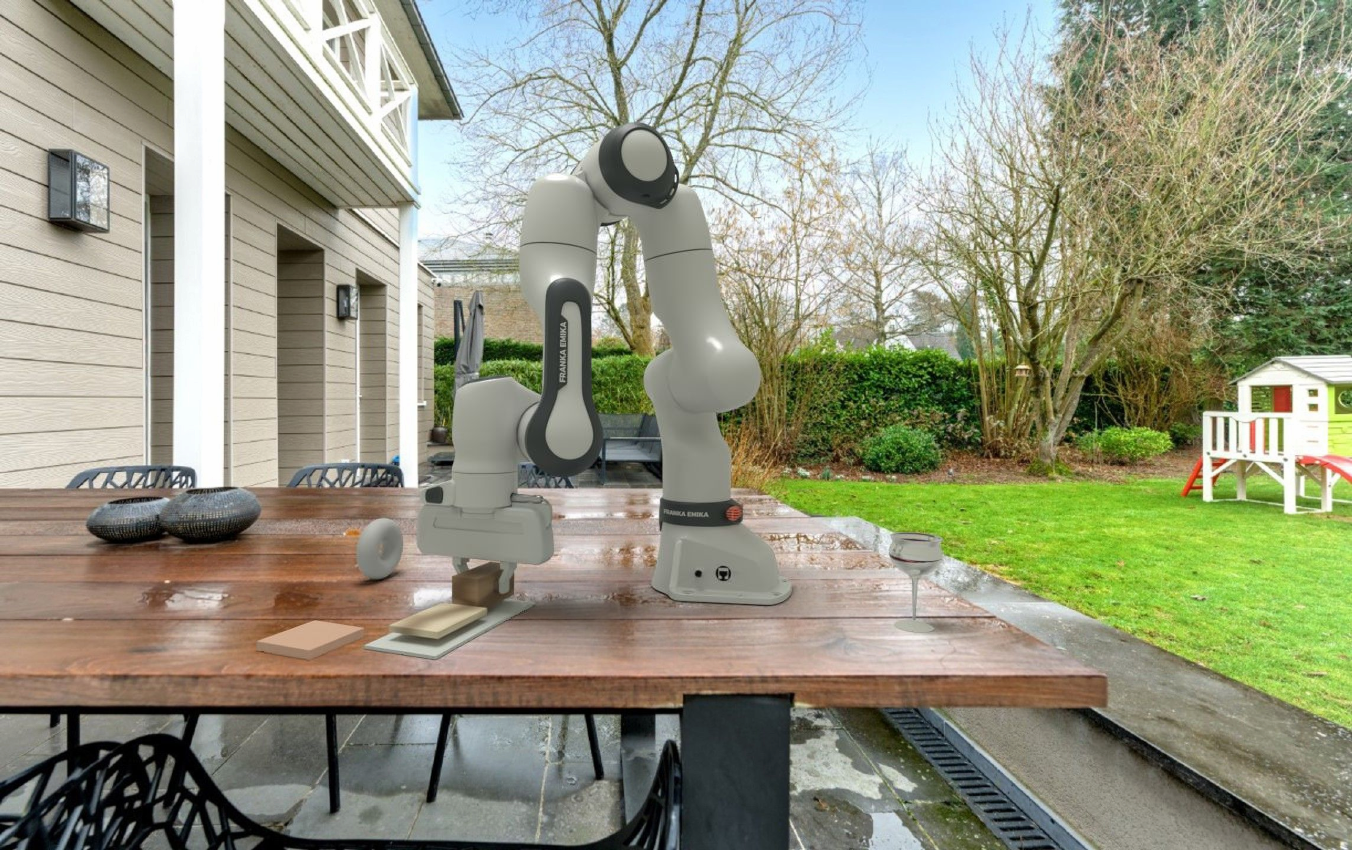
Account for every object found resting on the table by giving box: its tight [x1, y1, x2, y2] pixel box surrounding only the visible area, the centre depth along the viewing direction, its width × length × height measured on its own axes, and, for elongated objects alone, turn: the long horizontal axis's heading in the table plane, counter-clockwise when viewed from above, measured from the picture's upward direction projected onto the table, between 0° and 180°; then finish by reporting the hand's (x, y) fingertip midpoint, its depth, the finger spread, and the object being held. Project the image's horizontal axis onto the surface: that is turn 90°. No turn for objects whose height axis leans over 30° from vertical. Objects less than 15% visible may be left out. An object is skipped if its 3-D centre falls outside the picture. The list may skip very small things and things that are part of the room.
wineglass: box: [888, 531, 944, 633], centre depth 88 cm, size 7×7×12 cm
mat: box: [363, 598, 536, 661], centre depth 86 cm, size 10×22×1 cm, turn 162°
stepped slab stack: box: [388, 561, 515, 639], centre depth 87 cm, size 7×19×4 cm, turn 162°
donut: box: [355, 517, 404, 580], centre depth 108 cm, size 10×4×10 cm, turn 170°
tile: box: [256, 619, 365, 661], centre depth 79 cm, size 8×2×8 cm
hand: (484, 590), depth 92 cm, fingers closed on stepped slab stack, 4 cm apart
